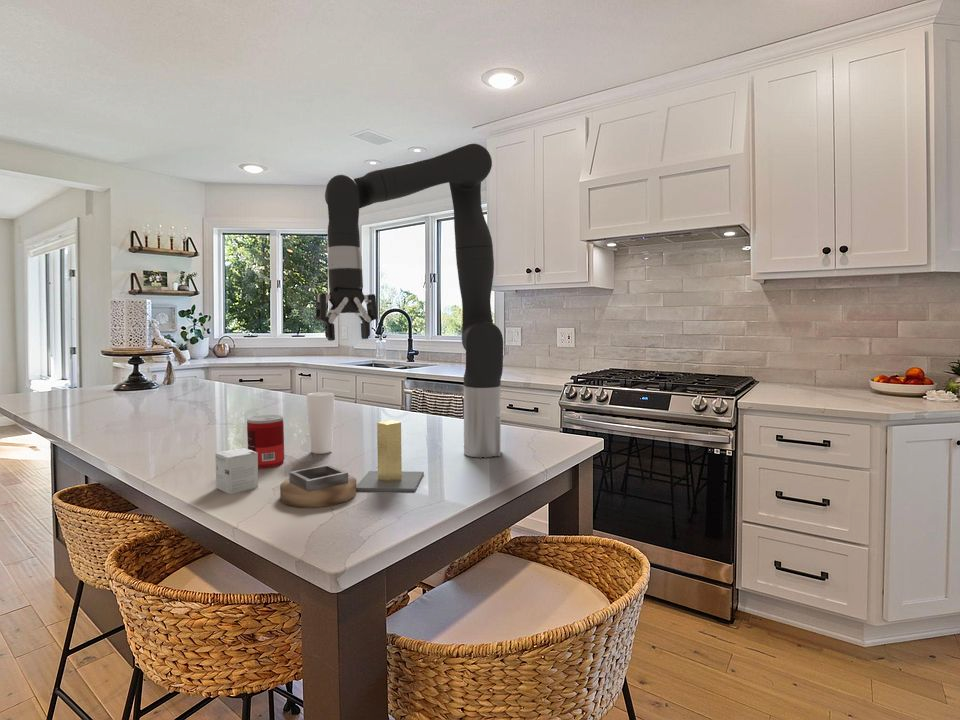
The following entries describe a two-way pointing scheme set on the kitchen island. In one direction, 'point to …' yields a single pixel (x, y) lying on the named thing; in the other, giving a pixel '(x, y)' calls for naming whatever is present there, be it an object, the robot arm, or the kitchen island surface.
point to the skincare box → (236, 470)
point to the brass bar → (389, 451)
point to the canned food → (266, 439)
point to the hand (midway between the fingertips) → (348, 339)
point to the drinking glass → (320, 421)
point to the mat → (406, 484)
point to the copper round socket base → (317, 487)
